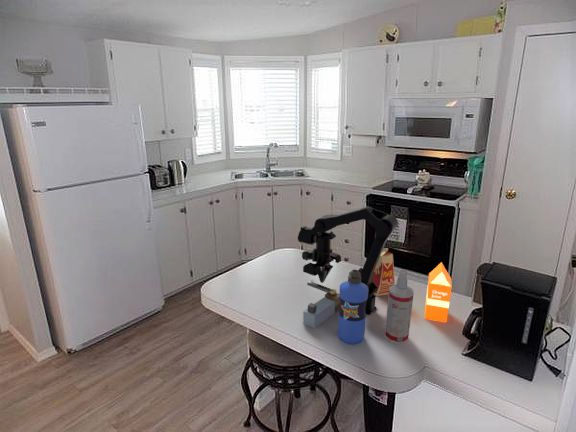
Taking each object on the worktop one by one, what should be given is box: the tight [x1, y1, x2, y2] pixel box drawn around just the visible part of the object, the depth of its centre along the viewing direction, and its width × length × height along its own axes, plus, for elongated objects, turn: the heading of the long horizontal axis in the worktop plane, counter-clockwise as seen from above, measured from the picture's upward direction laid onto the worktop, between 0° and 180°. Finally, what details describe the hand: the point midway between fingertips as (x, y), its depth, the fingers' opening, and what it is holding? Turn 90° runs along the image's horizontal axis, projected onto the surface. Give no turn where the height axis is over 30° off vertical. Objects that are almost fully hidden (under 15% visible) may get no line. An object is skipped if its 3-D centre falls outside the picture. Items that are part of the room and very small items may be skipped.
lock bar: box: [306, 280, 337, 296], centre depth 147 cm, size 13×2×2 cm, turn 50°
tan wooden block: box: [324, 292, 341, 314], centre depth 145 cm, size 5×4×6 cm
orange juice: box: [424, 261, 453, 323], centre depth 139 cm, size 8×9×20 cm
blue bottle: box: [337, 269, 368, 346], centre depth 125 cm, size 9×9×25 cm
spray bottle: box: [384, 269, 415, 345], centre depth 125 cm, size 8×8×25 cm
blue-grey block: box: [302, 296, 335, 329], centre depth 139 cm, size 5×13×8 cm, turn 140°
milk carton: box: [373, 247, 396, 297], centre depth 158 cm, size 9×9×20 cm
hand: (322, 282), depth 154 cm, fingers closed
